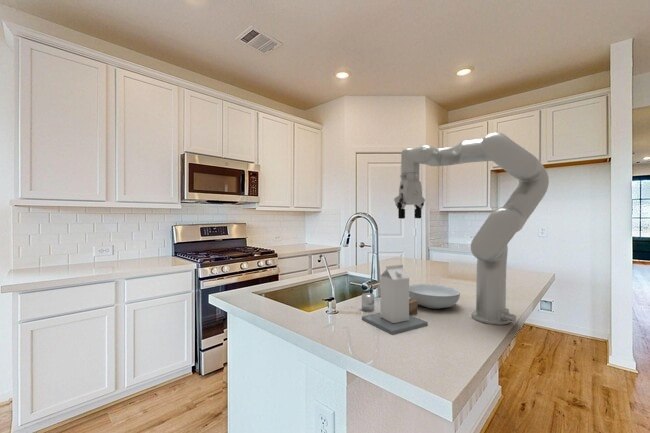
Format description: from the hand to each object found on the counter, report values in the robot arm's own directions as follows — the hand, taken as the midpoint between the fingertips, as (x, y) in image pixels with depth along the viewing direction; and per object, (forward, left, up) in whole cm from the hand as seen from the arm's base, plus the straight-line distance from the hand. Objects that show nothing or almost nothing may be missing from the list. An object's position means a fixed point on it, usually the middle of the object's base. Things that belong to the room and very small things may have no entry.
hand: (409, 218), depth 134 cm
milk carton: (-15, +22, -35) cm, 44 cm away
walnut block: (-9, +10, -36) cm, 39 cm away
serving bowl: (-7, -6, -36) cm, 38 cm away
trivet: (-14, +22, -36) cm, 45 cm away
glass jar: (+2, +21, -36) cm, 42 cm away
